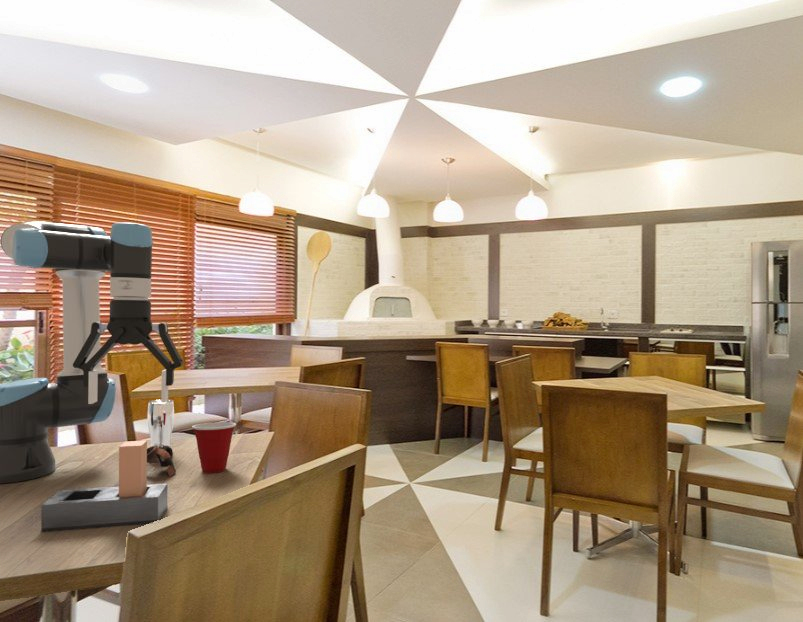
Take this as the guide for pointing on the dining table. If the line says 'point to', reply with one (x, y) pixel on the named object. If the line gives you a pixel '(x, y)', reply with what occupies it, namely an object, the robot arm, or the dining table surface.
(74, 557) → the dining table surface
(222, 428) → the plastic cup
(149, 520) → the grey peg hole block
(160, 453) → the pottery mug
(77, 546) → the dining table surface
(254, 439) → the dining table surface
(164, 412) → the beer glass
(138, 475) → the terracotta peg
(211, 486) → the dining table surface
